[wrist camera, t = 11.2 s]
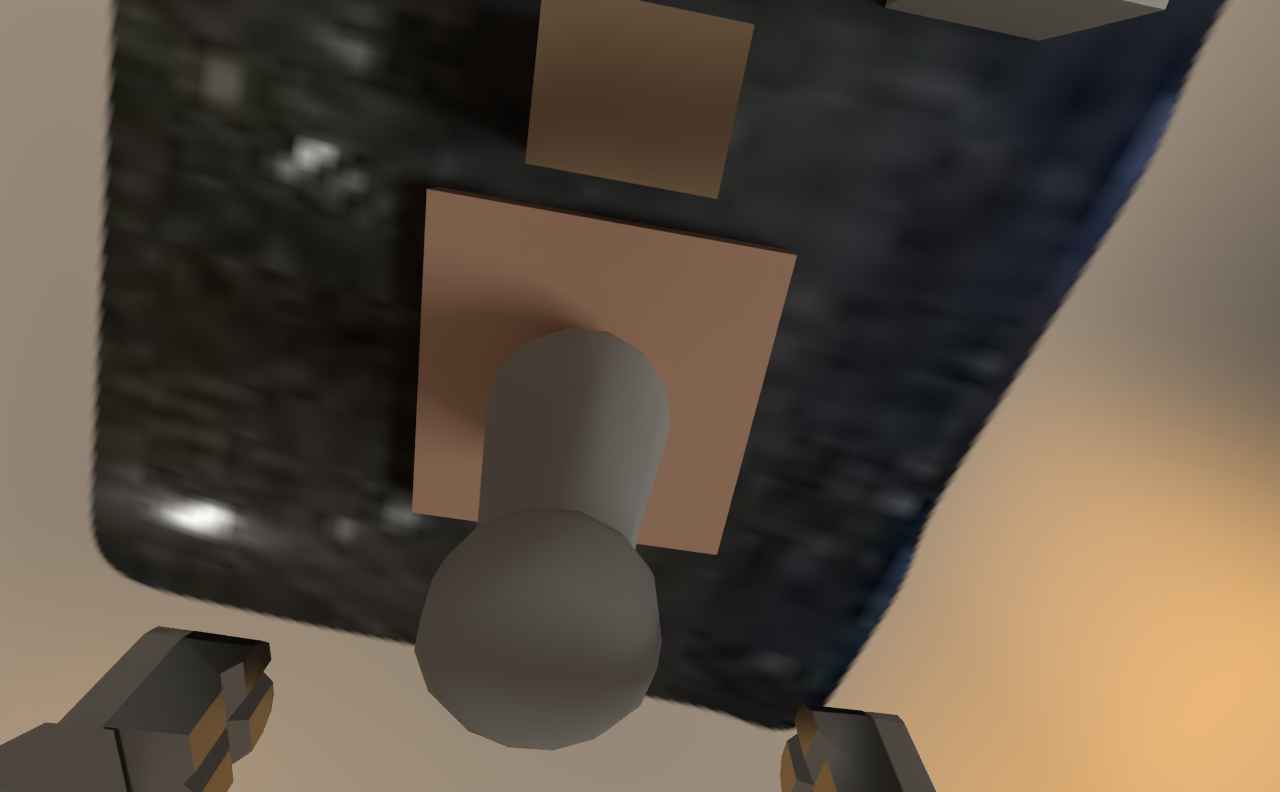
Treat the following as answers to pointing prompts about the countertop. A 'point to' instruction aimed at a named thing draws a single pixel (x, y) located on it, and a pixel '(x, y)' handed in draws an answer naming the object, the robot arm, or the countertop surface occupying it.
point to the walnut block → (636, 92)
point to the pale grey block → (1030, 14)
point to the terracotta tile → (601, 301)
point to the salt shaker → (554, 551)
